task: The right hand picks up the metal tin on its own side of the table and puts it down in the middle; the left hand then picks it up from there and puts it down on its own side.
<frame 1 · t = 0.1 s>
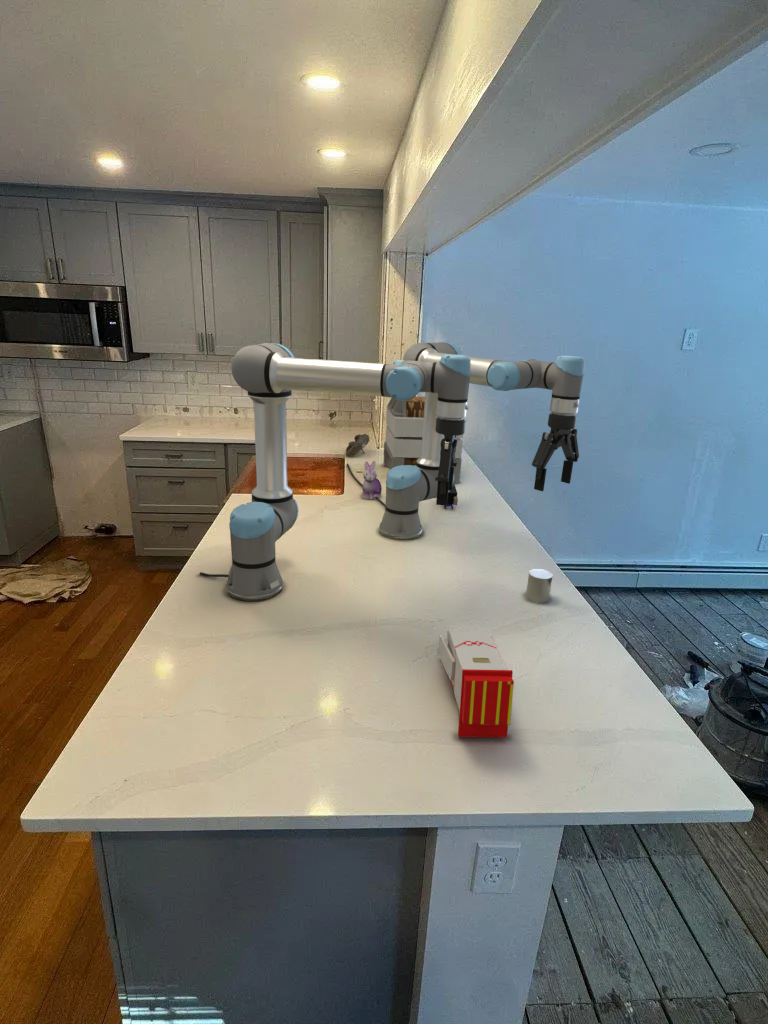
left hand: (444, 497, 151), 28 cm above the counter, tool pointing down, fingers open, 13 cm apart
right hand: (552, 486, 165), 28 cm above the counter, tool pointing down, fingers open, 13 cm apart
tin: (537, 597, 159), on the counter
fossil: (357, 453, 307), on the counter
figurine character: (447, 505, 232), on the counter
grey slatted crate: (419, 473, 275), on the counter
toy: (469, 691, 119), on the counter
figurine: (371, 496, 238), on the counter
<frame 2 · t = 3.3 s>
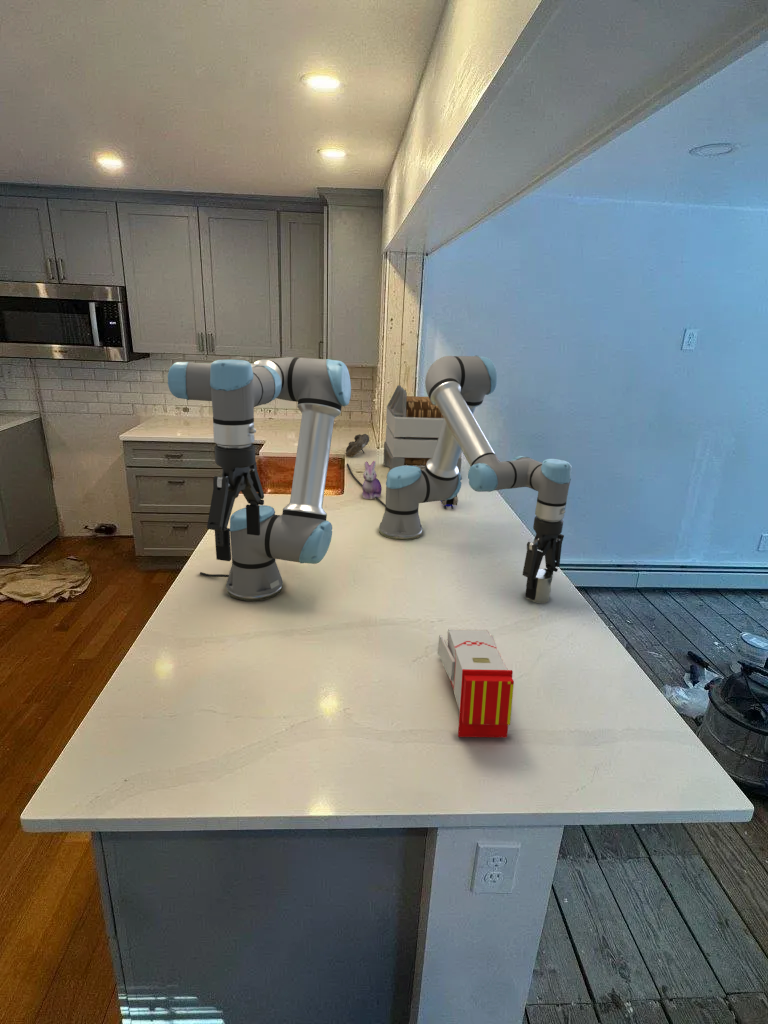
left hand: (239, 546, 115), 28 cm above the counter, tool pointing down, fingers open, 13 cm apart
right hand: (537, 594, 159), 1 cm above the counter, tool pointing down, fingers closed on tin, 6 cm apart
tin: (537, 597, 159), on the counter, touching right hand
everything else where it was.
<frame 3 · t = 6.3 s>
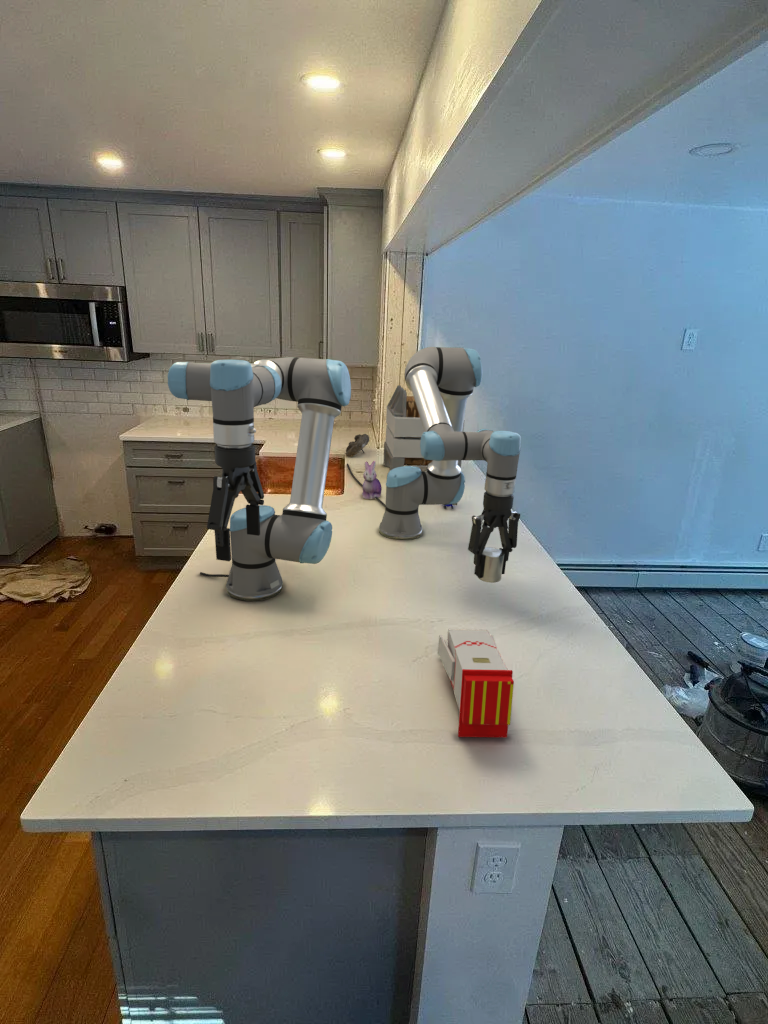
left hand: (239, 546, 115), 28 cm above the counter, tool pointing down, fingers open, 13 cm apart
right hand: (489, 573, 153), 9 cm above the counter, tool pointing down, fingers closed on tin, 6 cm apart
tin: (489, 577, 153), point 8 cm above the counter, touching right hand
everything else where it was.
when the right hand's fingers open (3 cm above the counter, at t = 9.7 s): tin drops 1 cm, on the counter.
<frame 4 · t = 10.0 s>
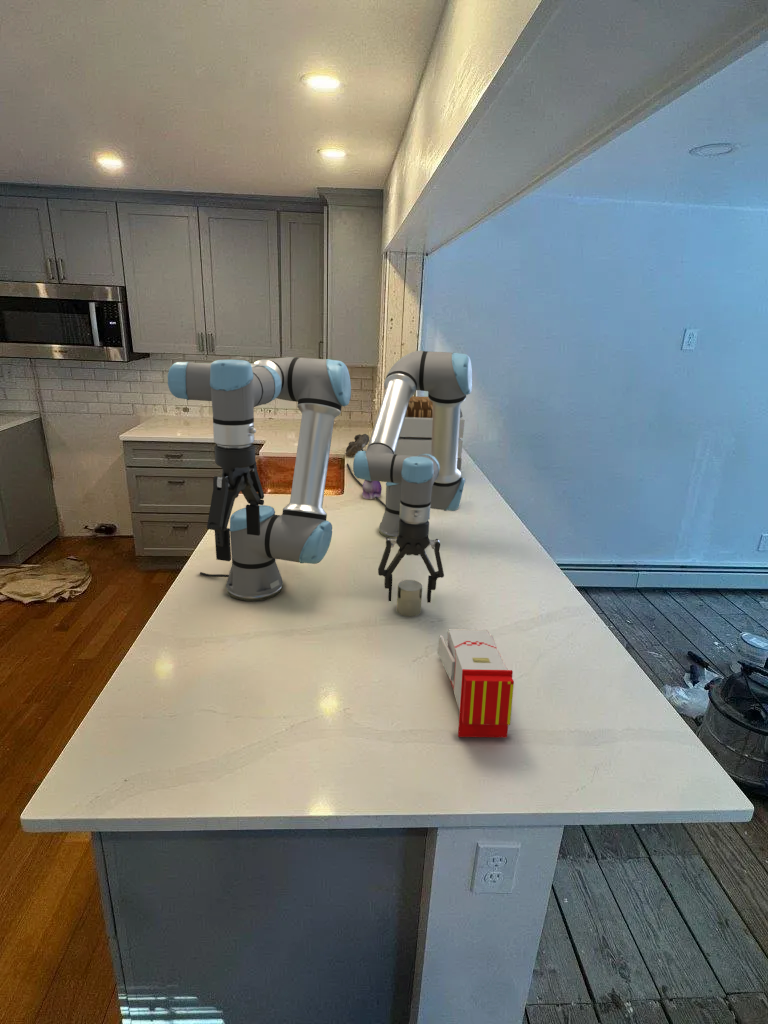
left hand: (239, 546, 115), 28 cm above the counter, tool pointing down, fingers open, 13 cm apart
right hand: (409, 599, 148), 3 cm above the counter, tool pointing down, fingers open, 9 cm apart
tin: (408, 610, 150), on the counter
everything else where it was.
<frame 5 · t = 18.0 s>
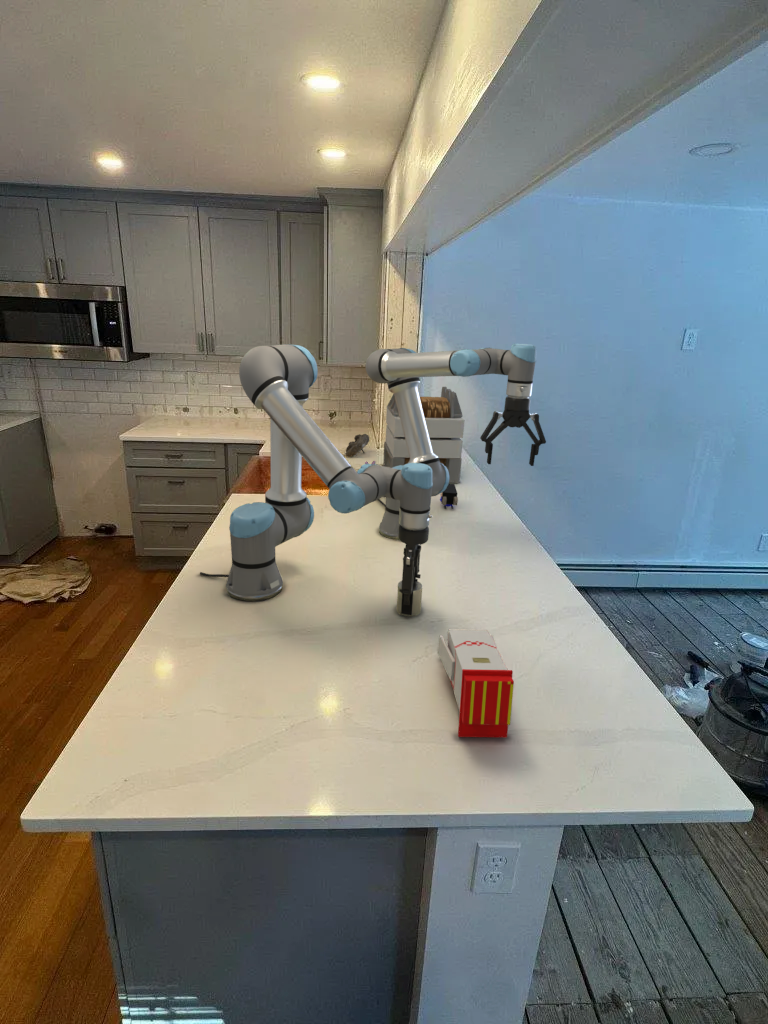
left hand: (408, 606, 149), 1 cm above the counter, tool pointing down, fingers closed on tin, 6 cm apart
right hand: (510, 464, 180), 30 cm above the counter, tool pointing down, fingers open, 13 cm apart
tin: (408, 610, 150), on the counter, touching left hand
everything else where it was.
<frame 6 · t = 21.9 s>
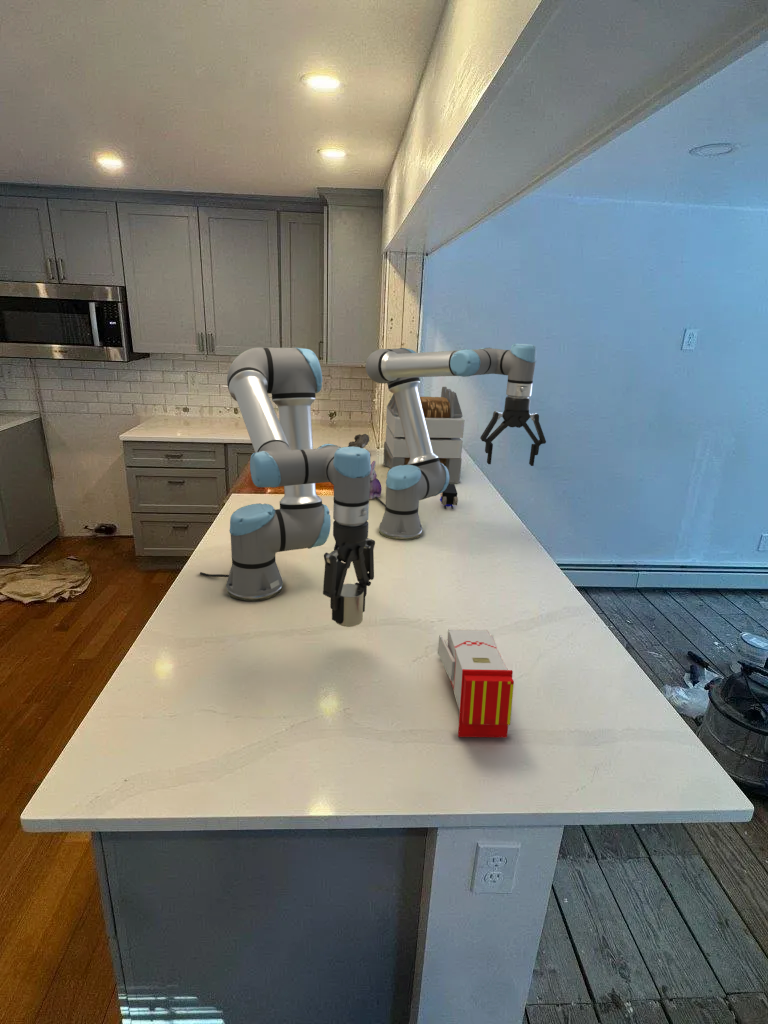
left hand: (348, 615, 128), 9 cm above the counter, tool pointing down, fingers closed on tin, 6 cm apart
right hand: (510, 464, 180), 30 cm above the counter, tool pointing down, fingers open, 13 cm apart
tin: (348, 619, 129), point 8 cm above the counter, touching left hand
everything else where it was.
when the left hand's fingers open (3 cm above the counter, at t = 26.3 s): tin drops 1 cm, on the counter.
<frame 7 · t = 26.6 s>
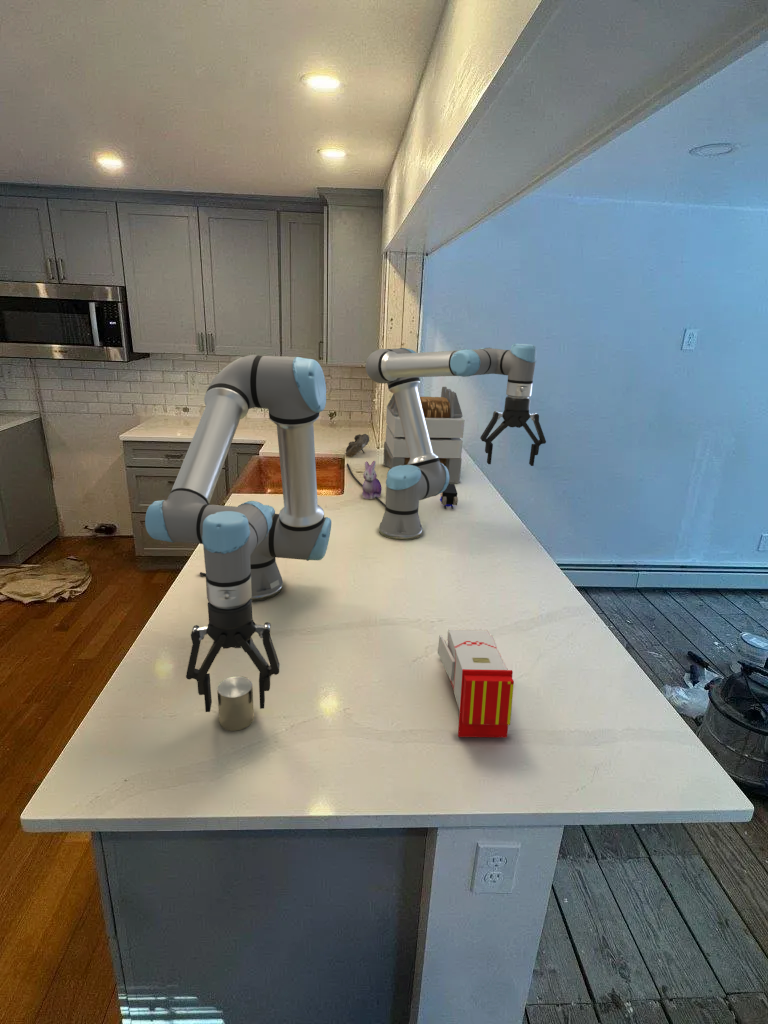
left hand: (235, 705, 107), 3 cm above the counter, tool pointing down, fingers open, 9 cm apart
right hand: (510, 464, 180), 30 cm above the counter, tool pointing down, fingers open, 13 cm apart
tin: (236, 719, 108), on the counter
everything else where it was.
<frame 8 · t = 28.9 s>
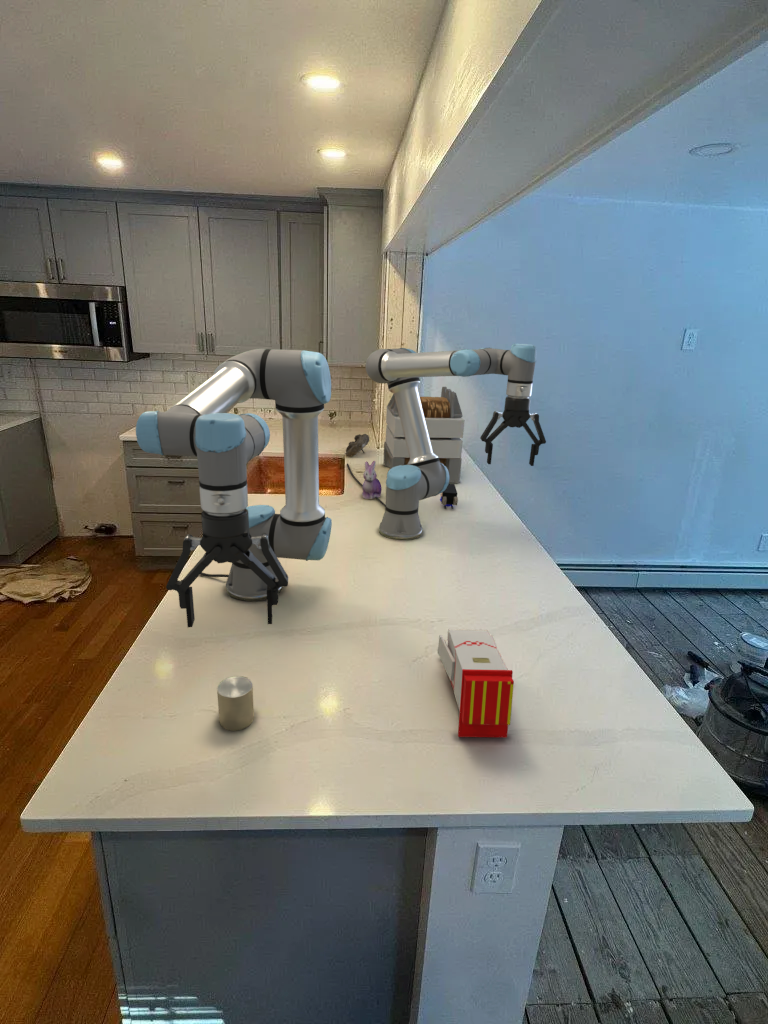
left hand: (231, 622, 101), 21 cm above the counter, tool pointing down, fingers open, 13 cm apart
right hand: (510, 464, 180), 30 cm above the counter, tool pointing down, fingers open, 13 cm apart
nothing on the counter moved.
at the end: tin inside the target area (0.1 cm from its centre), on the counter; tin tilted 0°; the two hands never held the tin at the same time; the left hand is holding nothing; the right hand is holding nothing; tin at rest at the end (0.0 cm/s) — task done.
